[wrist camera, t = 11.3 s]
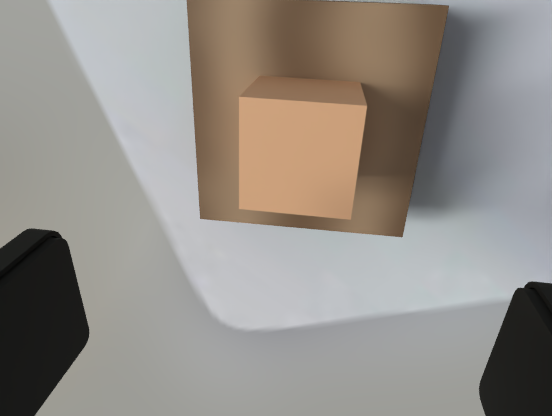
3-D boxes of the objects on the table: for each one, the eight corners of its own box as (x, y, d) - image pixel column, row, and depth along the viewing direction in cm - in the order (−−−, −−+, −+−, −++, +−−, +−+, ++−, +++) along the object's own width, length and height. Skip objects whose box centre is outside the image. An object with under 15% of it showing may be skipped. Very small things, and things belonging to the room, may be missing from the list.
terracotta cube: (360, 82, 20) (367, 105, 16) (347, 176, 22) (350, 219, 18) (259, 75, 21) (238, 96, 16) (257, 168, 23) (238, 208, 19)
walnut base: (430, 4, 22) (448, 5, 18) (393, 206, 27) (402, 237, 24) (209, -4, 23) (186, -4, 19) (216, 191, 28) (200, 218, 25)
